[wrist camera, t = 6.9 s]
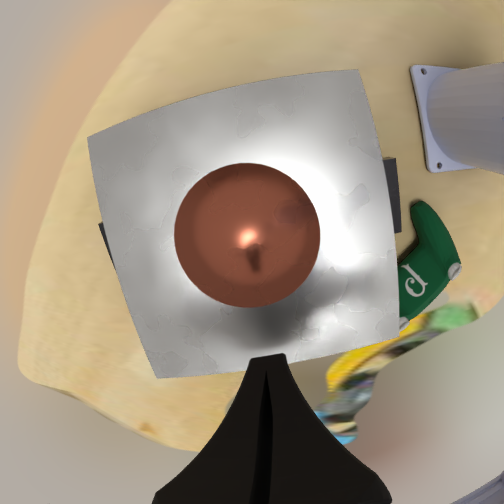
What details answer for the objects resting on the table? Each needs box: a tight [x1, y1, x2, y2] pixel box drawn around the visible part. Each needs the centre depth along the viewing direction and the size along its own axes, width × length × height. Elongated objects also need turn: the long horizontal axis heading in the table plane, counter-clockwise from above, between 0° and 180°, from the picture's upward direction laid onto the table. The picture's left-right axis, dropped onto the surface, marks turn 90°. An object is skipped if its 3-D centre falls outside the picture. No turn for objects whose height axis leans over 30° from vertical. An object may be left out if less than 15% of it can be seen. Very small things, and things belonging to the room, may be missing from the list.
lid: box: [87, 70, 399, 378], centre depth 12 cm, size 13×13×1 cm
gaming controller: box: [397, 201, 462, 332], centre depth 19 cm, size 9×4×6 cm
